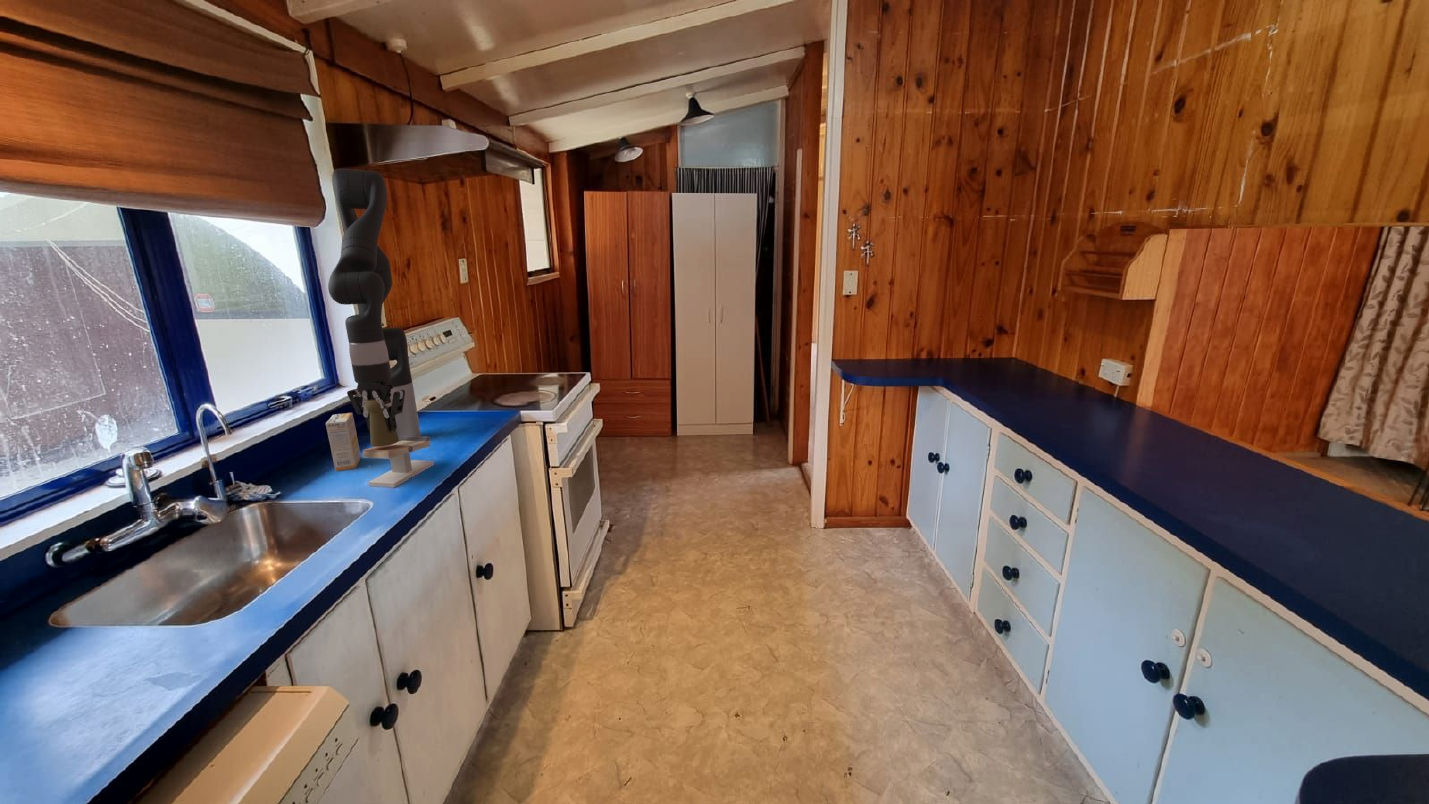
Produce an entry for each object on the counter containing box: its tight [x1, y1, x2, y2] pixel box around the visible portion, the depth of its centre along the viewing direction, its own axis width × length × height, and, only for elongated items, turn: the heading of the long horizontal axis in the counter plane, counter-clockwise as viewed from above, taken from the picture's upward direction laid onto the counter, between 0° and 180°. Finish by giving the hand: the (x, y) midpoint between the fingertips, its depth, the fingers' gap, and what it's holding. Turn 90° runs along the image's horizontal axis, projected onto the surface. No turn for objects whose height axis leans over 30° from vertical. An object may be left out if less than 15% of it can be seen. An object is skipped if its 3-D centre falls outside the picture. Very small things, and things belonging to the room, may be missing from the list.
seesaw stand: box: [367, 453, 435, 488], centre depth 141 cm, size 7×15×6 cm, turn 170°
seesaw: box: [362, 435, 432, 460], centre depth 140 cm, size 7×15×3 cm, turn 170°
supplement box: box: [325, 412, 362, 472], centre depth 148 cm, size 8×5×13 cm, turn 22°
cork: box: [365, 399, 399, 447], centre depth 134 cm, size 6×6×11 cm
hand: (382, 431), depth 135 cm, fingers closed on cork, 4 cm apart
